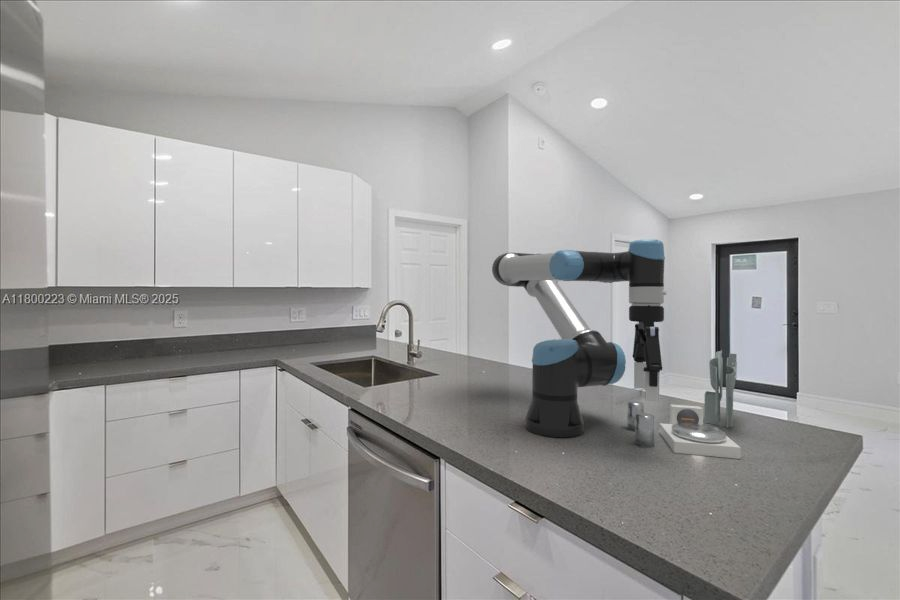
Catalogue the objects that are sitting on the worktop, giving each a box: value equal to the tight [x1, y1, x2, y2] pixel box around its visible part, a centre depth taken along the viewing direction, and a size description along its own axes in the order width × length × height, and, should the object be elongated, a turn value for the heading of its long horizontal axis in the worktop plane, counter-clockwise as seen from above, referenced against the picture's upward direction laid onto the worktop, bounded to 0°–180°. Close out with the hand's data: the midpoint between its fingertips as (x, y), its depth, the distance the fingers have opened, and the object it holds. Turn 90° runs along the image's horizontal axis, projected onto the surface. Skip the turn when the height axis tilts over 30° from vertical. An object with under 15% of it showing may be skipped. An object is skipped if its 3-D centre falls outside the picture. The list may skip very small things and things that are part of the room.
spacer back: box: [626, 400, 645, 432], centre depth 108 cm, size 4×4×7 cm
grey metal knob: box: [634, 412, 655, 448], centre depth 97 cm, size 4×4×7 cm
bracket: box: [703, 349, 738, 429], centre depth 114 cm, size 28×7×20 cm, turn 143°
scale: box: [659, 403, 742, 460], centre depth 98 cm, size 13×16×7 cm
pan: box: [672, 423, 727, 443], centre depth 96 cm, size 11×11×1 cm
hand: (645, 394), depth 97 cm, fingers open, 13 cm apart
